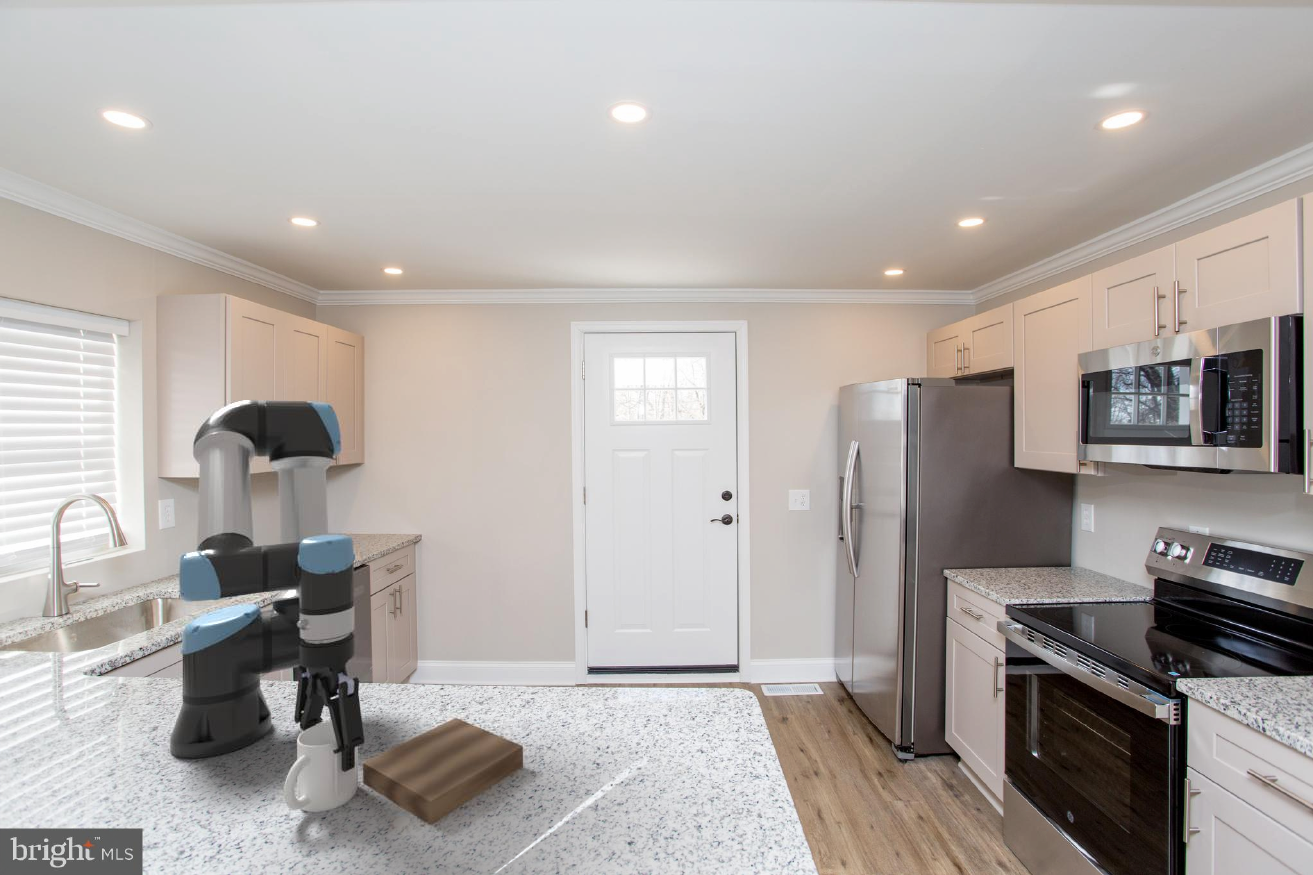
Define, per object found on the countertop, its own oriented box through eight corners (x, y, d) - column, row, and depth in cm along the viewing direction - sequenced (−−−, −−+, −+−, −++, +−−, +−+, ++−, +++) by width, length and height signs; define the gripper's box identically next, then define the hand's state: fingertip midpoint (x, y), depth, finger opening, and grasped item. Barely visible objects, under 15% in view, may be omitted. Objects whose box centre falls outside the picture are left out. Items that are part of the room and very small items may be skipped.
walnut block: (363, 787, 95) (362, 762, 95) (456, 738, 110) (455, 717, 110) (430, 828, 85) (430, 801, 85) (523, 769, 100) (522, 745, 100)
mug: (308, 835, 83) (307, 763, 83) (262, 825, 85) (261, 755, 85) (369, 786, 95) (369, 723, 95) (327, 778, 97) (327, 716, 97)
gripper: (268, 629, 95) (269, 768, 95) (340, 657, 82) (341, 816, 83) (317, 617, 101) (317, 747, 101) (389, 642, 89) (390, 789, 89)
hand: (328, 778), depth 92 cm, fingers open, 9 cm apart
